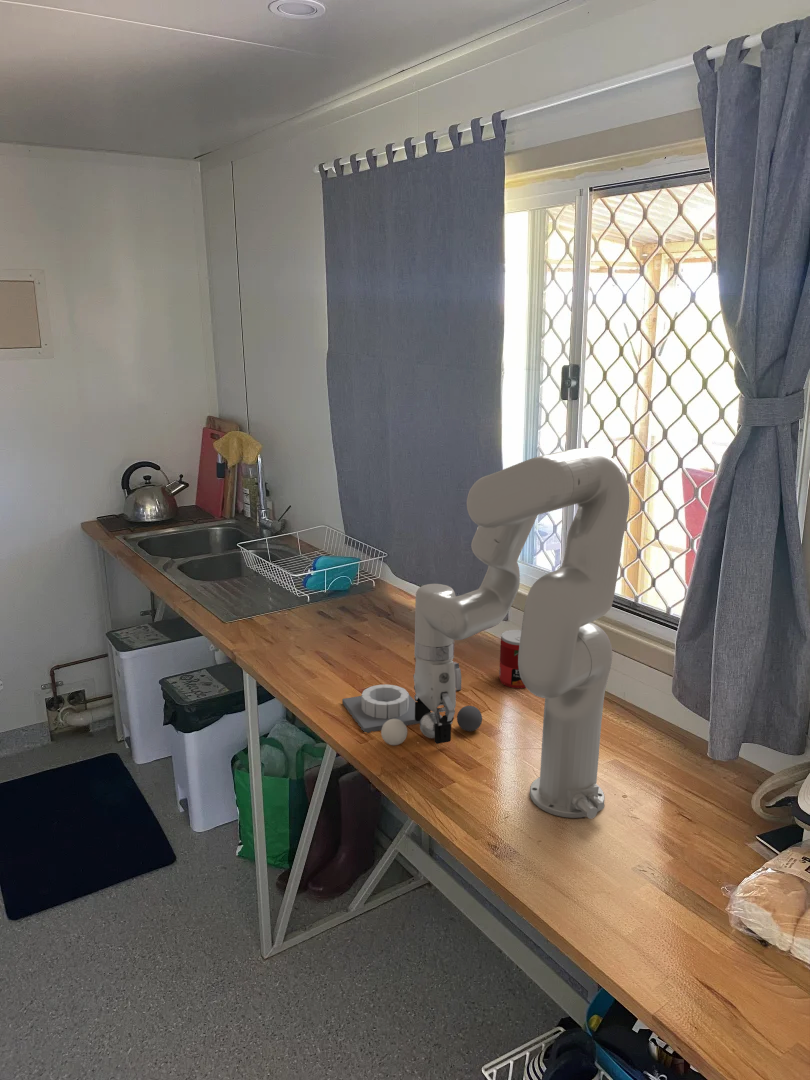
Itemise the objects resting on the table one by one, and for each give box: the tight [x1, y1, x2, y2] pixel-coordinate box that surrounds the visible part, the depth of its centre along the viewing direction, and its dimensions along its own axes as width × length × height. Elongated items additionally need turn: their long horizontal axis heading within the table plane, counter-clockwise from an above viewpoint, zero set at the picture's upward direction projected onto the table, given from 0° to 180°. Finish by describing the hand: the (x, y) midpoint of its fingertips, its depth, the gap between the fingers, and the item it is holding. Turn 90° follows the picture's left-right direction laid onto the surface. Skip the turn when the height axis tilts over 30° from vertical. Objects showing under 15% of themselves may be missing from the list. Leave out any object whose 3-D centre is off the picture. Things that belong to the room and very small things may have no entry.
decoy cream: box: [380, 719, 408, 746], centre depth 163 cm, size 5×5×5 cm
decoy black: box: [456, 705, 483, 732], centre depth 169 cm, size 5×5×5 cm
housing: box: [341, 684, 420, 733], centre depth 176 cm, size 14×14×4 cm
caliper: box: [414, 657, 462, 692], centre depth 195 cm, size 20×1×6 cm, turn 27°
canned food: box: [498, 629, 527, 689], centre depth 191 cm, size 8×8×11 cm
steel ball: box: [419, 711, 443, 739], centre depth 166 cm, size 5×5×5 cm
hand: (432, 730), depth 167 cm, fingers open, 9 cm apart
